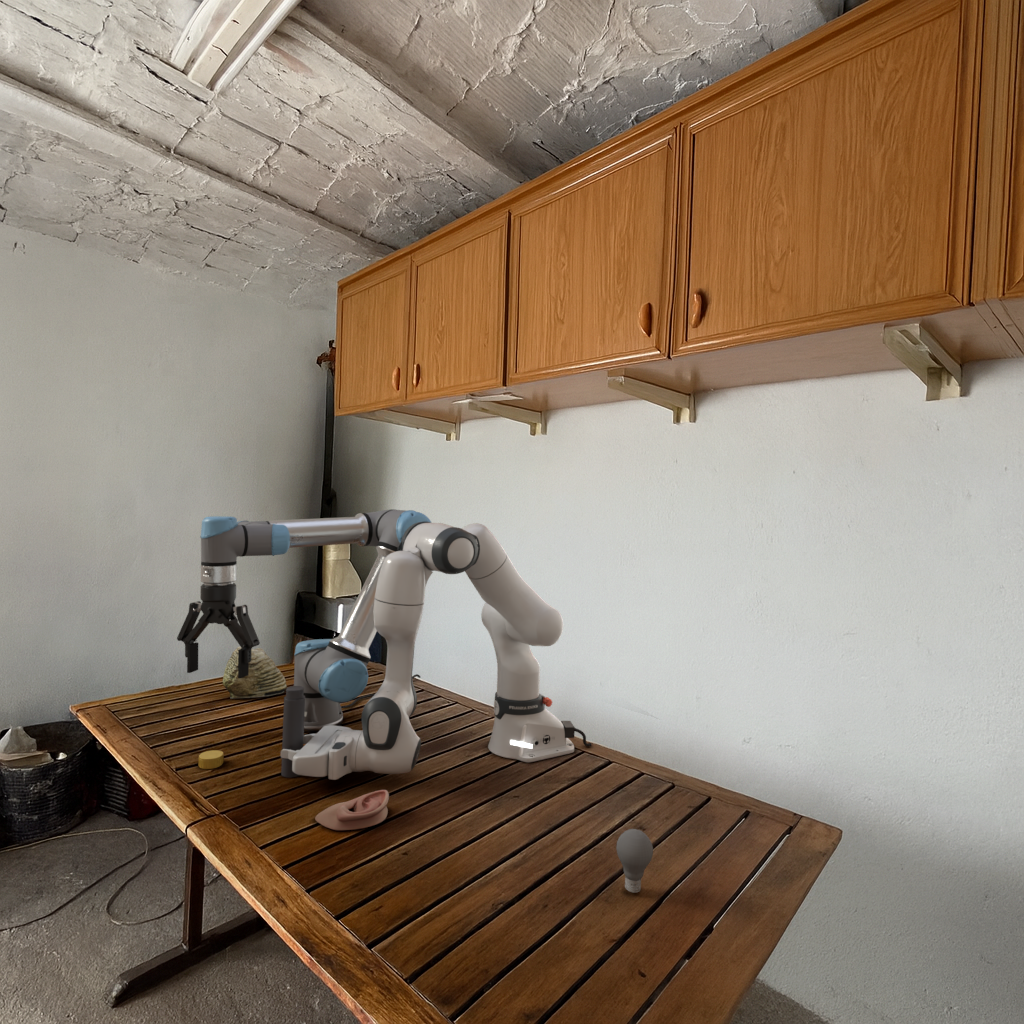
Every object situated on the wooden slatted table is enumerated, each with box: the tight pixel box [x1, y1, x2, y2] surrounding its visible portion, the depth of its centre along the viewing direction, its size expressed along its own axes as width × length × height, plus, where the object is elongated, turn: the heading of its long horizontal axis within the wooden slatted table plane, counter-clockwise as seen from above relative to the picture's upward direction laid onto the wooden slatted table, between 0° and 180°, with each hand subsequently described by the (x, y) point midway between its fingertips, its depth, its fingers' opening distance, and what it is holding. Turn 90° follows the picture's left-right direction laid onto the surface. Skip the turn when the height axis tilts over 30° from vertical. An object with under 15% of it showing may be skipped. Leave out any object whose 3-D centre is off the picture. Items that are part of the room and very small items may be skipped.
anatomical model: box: [314, 789, 390, 831], centre depth 126 cm, size 13×4×12 cm
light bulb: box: [615, 828, 654, 894], centre depth 106 cm, size 6×6×10 cm
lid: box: [197, 749, 225, 770], centre depth 147 cm, size 5×5×2 cm
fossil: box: [222, 646, 288, 699], centre depth 198 cm, size 9×18×15 cm, turn 132°
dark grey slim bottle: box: [280, 685, 305, 779], centre depth 144 cm, size 4×4×20 cm
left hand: (217, 674), depth 147 cm, fingers open, 13 cm apart
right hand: (289, 746), depth 144 cm, fingers open, 6 cm apart
